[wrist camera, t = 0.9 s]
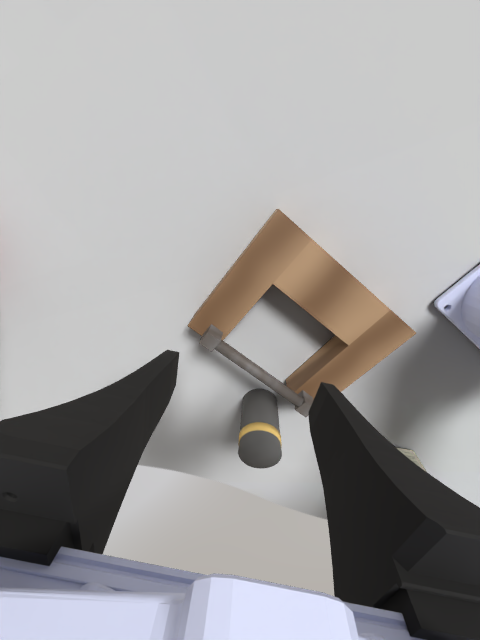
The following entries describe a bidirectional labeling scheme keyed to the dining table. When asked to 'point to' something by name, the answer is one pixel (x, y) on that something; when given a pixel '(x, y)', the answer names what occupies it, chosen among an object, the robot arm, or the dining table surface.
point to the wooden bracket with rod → (313, 296)
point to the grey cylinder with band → (259, 430)
